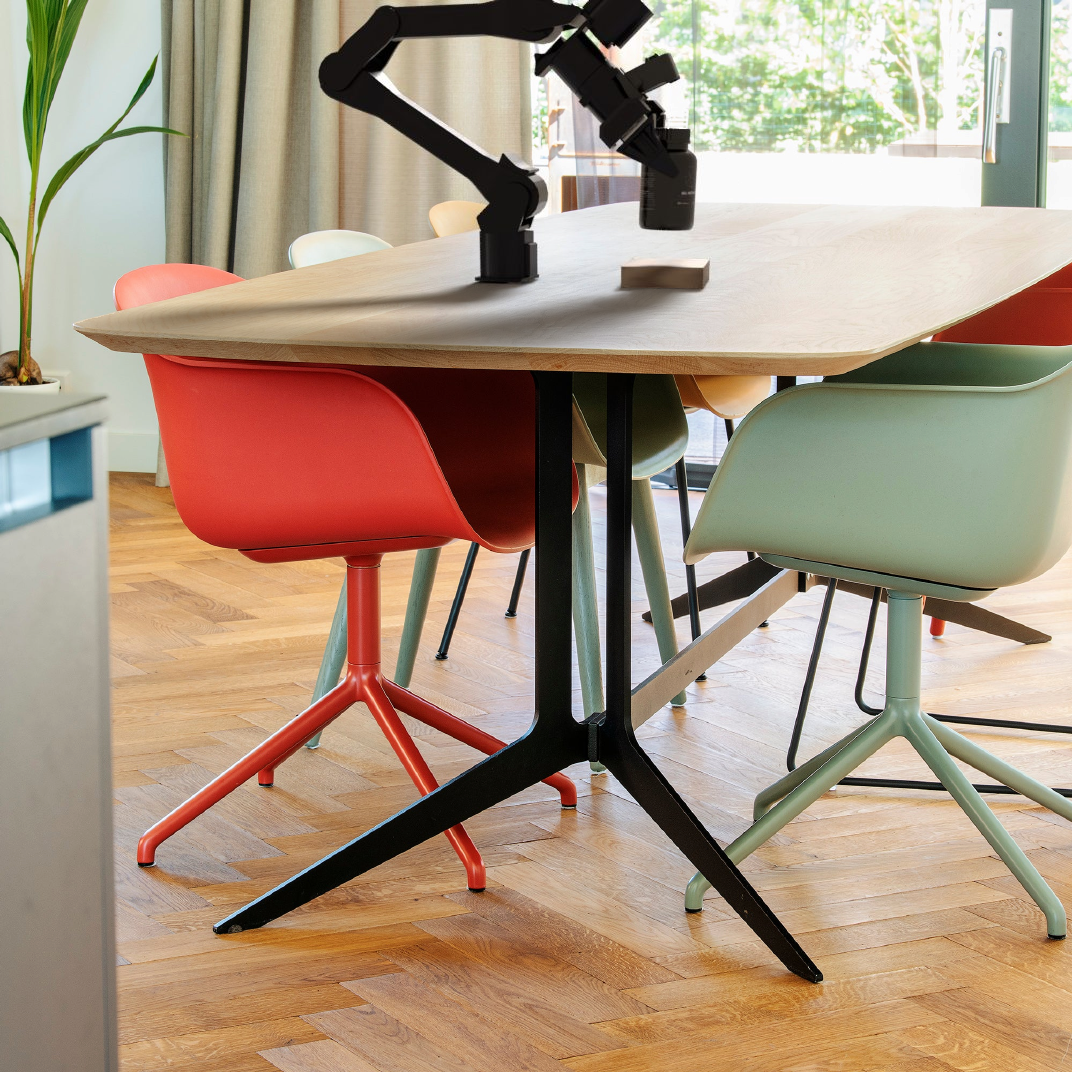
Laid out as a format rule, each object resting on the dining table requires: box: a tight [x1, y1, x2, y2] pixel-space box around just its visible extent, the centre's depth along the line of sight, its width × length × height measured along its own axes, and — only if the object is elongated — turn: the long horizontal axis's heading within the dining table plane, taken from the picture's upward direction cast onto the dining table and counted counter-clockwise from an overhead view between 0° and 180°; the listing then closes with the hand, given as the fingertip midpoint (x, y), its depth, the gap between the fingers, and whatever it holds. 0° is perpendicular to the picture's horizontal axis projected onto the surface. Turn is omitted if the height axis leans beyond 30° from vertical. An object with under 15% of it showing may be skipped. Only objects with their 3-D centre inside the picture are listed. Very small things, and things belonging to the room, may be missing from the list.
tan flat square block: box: [620, 257, 711, 290], centre depth 163 cm, size 10×10×2 cm
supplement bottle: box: [638, 127, 698, 232], centre depth 159 cm, size 7×7×12 cm
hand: (679, 174), depth 159 cm, fingers closed on supplement bottle, 7 cm apart
